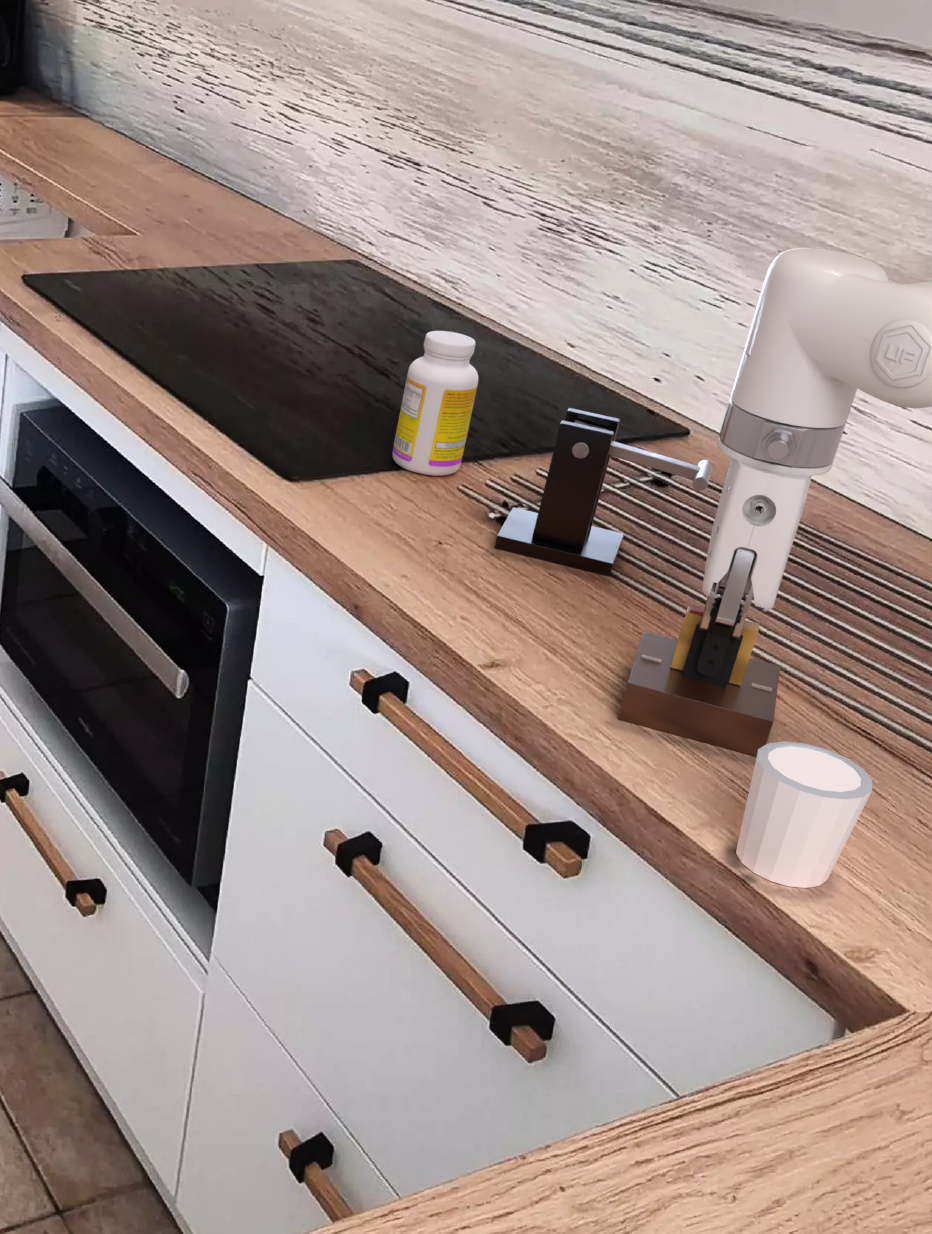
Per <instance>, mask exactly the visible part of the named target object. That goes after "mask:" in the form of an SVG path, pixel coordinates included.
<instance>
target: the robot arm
mask: <svg viewBox="0 0 932 1234" xmlns="http://www.w3.org/2000/svg"><path fill="white" fill-rule="evenodd" d="M758 298H759V299H758V302H757V304H756V309H755V312H754V315H753V318H752V322H751V324H750V325H751V326H750V329H749V332H748V336H747V340H746V342H745V346H744V350H743V353H742V357H741V358H740V359H741V360H740V362H739V366H738V370H737V373H736V376H735V379H734V384H733V387H732V389H731V393H730V398H729V400H728V404H727V408H726V411H725V415H724V418H723V422H722V425H721V428H720V431H719V434H718V438H717V441H716V446H717V448H718V449H719V450H720V452H722V453H723V454H724V455H726V456H727V457H729V458H731V459H730V462H729V467H728V469H727V474H726V477H725V480H724V483H723V486H722V490H721V494H720V496H719V497H720V498H719V500H718V501H719V502H718V505H717V509H716V513H715V516H714V519H713V524H712V530H711V534H710V538H709V543H708V549H707V555H706V560H705V567H704V573H703V580H702V588H701V591H702V592H703V594H704V595H705V596H706V602H705V604H704V608H706V609H705V612H704V615H703V619H702V622H701V625H699V624H697V625H696V629H695V632H694V635H693V639H692V642H691V645H690V648H689V652H688V655H687V658H686V662H685V665H684V668H683V675H684V676H685V677H688V678H692V679H696V680H699V681H703V682H707V683H711V684H715V685H719V686H726V685H728V683H729V680H730V677H731V674H732V670H733V667H734V664H735V661H736V658H737V655H738V651H739V648H740V645H741V642H742V639H743V635H741V632H742V629H743V626H744V622H745V620H746V619H747V616H748V613H749V610H750V607H751V606H752V600H753V602H754V607H758V608H761V609H762V612H768V611H770V610H772V609H773V608H774V606H775V602H776V600H777V596H778V593H779V589H780V586H781V582H782V579H783V577H784V573H785V569H786V566H787V563H788V560H789V557H790V554H791V550H792V548H793V547H792V546H793V544H794V541H795V537H796V535H797V531H798V528H799V526H800V522H801V518H802V515H803V512H804V508H805V504H806V501H807V498H808V494H809V489H810V485H811V481H812V476H813V477H814V476H820V475H826V473H829V472H830V471H831V470H832V467H833V464H834V462H835V461H834V460H835V458H836V455H837V451H838V449H839V446H840V443H841V440H842V436H843V434H844V430H845V427H846V424H847V422H848V418H849V416H850V412H851V409H852V406H853V403H854V400H855V397H856V394H857V391H858V390H859V391H860V392H863V393H865V394H867V395H869V396H871V397H873V398H875V399H877V400H880V401H882V402H884V403H887V404H889V405H893V406H897V407H901V408H906V409H907V408H908V409H925V408H932V279H930V280H927V281H923V282H913V283H902V284H901V283H893V282H890V281H889V277H888V274H887V272H886V271H885V270H884V268H883V267H882V266H880V265H879V264H877V263H875V262H873V261H872V260H869V259H867V258H865V257H861V256H859V255H855V254H852V253H847V252H842V251H839V250H832V249H824V248H815V247H797V248H791V249H787V250H785V251H783V252H781V253H779V254H778V255H777V256H776V257H775V258H774V259H773V260H772V262H771V263H770V265H769V267H768V269H767V272H766V275H765V278H764V281H763V285H762V288H761V291H760V294H759V297H758ZM708 626H709V627H708Z"/></svg>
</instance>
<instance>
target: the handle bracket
mask: <svg viewBox="0 0 932 1234" xmlns="http://www.w3.org/2000/svg"><path fill="white" fill-rule="evenodd" d="M575 420H577V421H581V422H584V423H588V424H591V425H595V426H598V427H601V428H605V429H607V430H604V429H599V428H595V427H590V426H586V425H581V424H577V423H574V422H575ZM620 420H621V419H620V418H617V417H613V416H607V415H604V414H599V413H594V412H590V411H585V410H581V409H576V408H572V407H568V409H567V410H566V415H565V419H564V420H561V421H560V423H559V427H558V432H557V434H556V435H557V436H556V439H555V444H554V446H553V451H552V455H551V460H550V463H549V467H548V471H547V476H546V479H545V483H544V487H543V491H542V495H541V500H540V504H539V508H538V512H534V511H531V510H527V509H522V508H518V507H512V508H511V510H510V512H509V514H508V515H507V517H506V519H505V521H504V523H503V525H502V526H501V528H500V530H499V531H498V533H497V535H496V538H495V542H494V549H497V550H500V551H505V552H509V553H513V554H516V555H521V556H525V557H528V558H534V559H538V560H542V561H546V562H550V563H554V564H558V565H562V566H567V567H570V568H573V569H578V570H582V571H587V572H591V573H595V574H599V575H602V576H607V577H611V573H612V571H613V568H614V566H615V563H616V562H617V561H616V560H617V558H618V555H619V552H620V550H621V548H622V544H623V541H624V536H625V533H623V532H619V531H615V530H611V529H606V528H602V527H597V526H594V525H593V523H594V520H595V516H596V513H597V509H598V505H599V501H600V497H601V495H602V494H601V493H602V489H603V486H604V482H605V478H606V475H607V470H608V466H609V464H610V459H611V456H610V455H608V454H609V450H610V446H611V442H612V441H614V442H616V436H617V433H618V429H619V425H620Z"/></svg>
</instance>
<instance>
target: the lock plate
mask: <svg viewBox="0 0 932 1234" xmlns="http://www.w3.org/2000/svg"><path fill="white" fill-rule="evenodd" d="M677 641H678V638H673V637H668V636H666V635H665V636H664V635H662V634H658V633H652V632H649V631H645V630H643V631H642V635H641V638H640V642H639V645H638V648H637V651H636V654H635V657H634V660H633V665H632V668H631V671H630V673H629V676H628V677H629V678H628V680H627V684H626V687H625V690H624V695H623V698H622V701H621V705H620V708H619V712H618V715H617V720H620V721H624V722H628V723H631V724H635V725H639V726H643V727H646V728H650V729H653V730H658V731H661V732H665V733H667V734H672V735H675V736H679V737H682V738H687V739H690V740H694V741H698V742H702V743H706V744H708V745H713V746H715V747H716V746H717V747H719V748H722V749H723V748H724V749H727V750H730V751H734V752H738V753H742V754H746V755H748V756H753V757H755V758H757V753H758V749H760V748H761V747H763V746H765V745H766V744H768V739H769V736H770V733H771V731H772V727H773V725H774V723H775V722H774V721H775V713H776V705H777V696H778V689H779V681H780V680H779V679H780V672H781V665H779V664H774V663H770V662H767V661H764V660H763V661H762V660H759V659H755V658H751V657H750V659H749V662H748V665H747V669H746V672H745V675H744V678H743V681H742V684H741V686H739V685H735V684H732V683H728V685H726V686H719V685H715V684H711V683H707V682H703V681H699V680H696V679H692V678H688V677H685V676H684V675H683V671H681V670H678V669H674V668H671V667H670V666H671V662H672V658H673V655H674V652H675V648H676V645H677Z"/></svg>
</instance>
